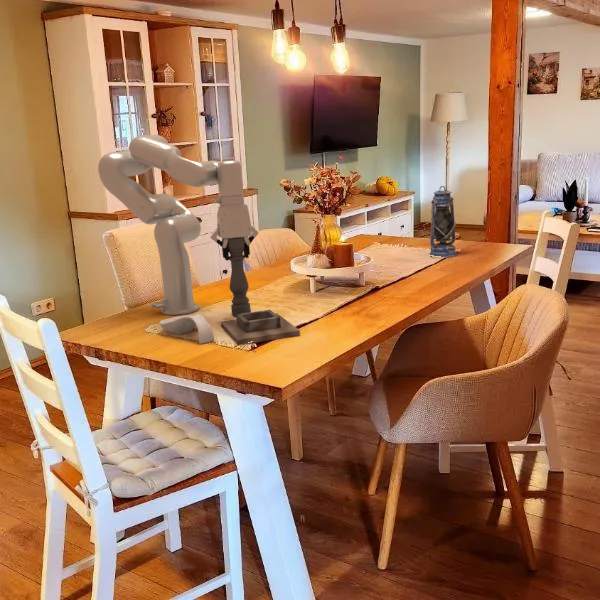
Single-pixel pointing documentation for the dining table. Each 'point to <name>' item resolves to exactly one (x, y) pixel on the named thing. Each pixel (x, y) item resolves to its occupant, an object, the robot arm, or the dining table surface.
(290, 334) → the socket board
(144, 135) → the robot arm
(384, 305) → the dining table surface
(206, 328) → the spoon rest
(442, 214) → the lantern
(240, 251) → the candle holder
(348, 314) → the dining table surface
